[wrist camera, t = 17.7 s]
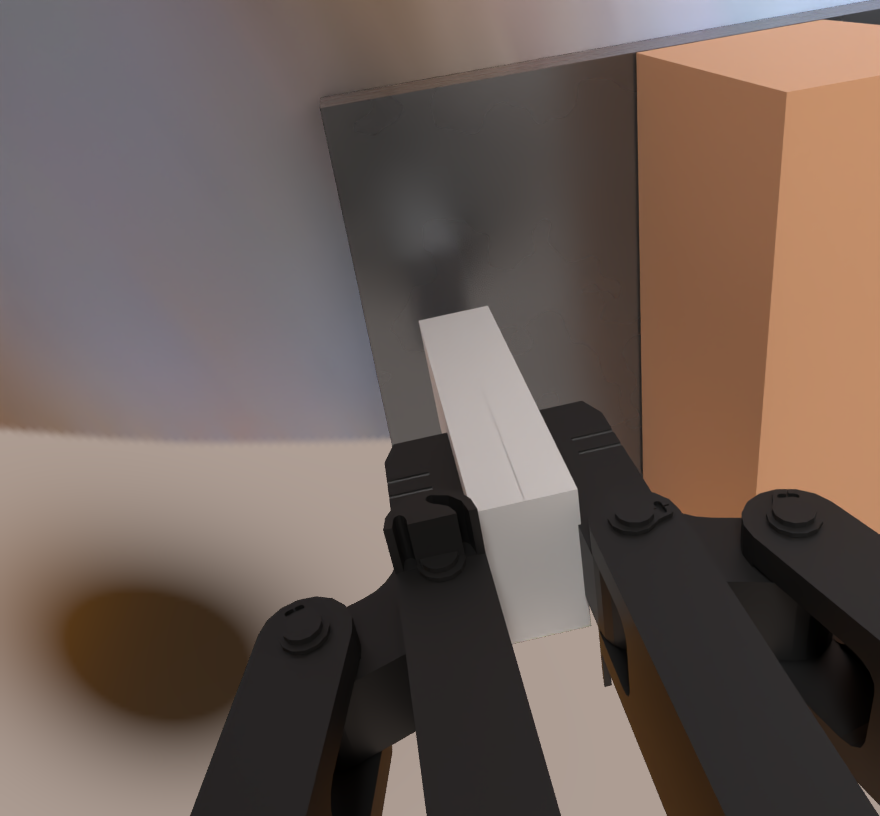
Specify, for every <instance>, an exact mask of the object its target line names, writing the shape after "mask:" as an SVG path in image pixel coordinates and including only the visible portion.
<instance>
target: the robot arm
mask: <svg viewBox="0 0 880 816" xmlns="http://www.w3.org/2000/svg"><path fill="white" fill-rule="evenodd" d="M419 326H420V331H421V335H422V340H423V345H424V350H425V355H426V360H427V365H428V369H429V374H430V379H431V384H432V389H433V394H434V399H435V403H436V408H437V413H438V418H439V423H440V428H441V432H442V434H438V435H433V436H429V437H424V438H420V439H415V440H411V441H406V442H402V443H397V444H394V445H393V447H392V449H391V451H390V453H389V455H388V457H387V459H386V461H385V469H386V477H387V483H388V492H389V497H390V507H391V511H390V512H389V514H388V515H387V516H386V518H385V523H384V529H383V531H384V535H385V538H386V542H387V545H388V549H389V552H390V556H391V560H392V563H393V567H394V570H393V572H392V574H391V575H390V577H389V578H388V579H387V581H386V582H385V583H384V584H383V585H382V586H381V587H380V588H379V589H378V590H377V591H375V592H374V593H372V594H370V595H369V596H367V597H365V598H364V599H362V600H360V601H358V602H356V603H354V604H352V605H350V606H348V607H346V606H345V605H344V604H342V603H340V602H338V601H336V600H334V599H333V598H325V597H311V598H306V599H301V600H297V601H295V602H293V603H291V604H289V605H287V606H285V607H283V608H281V609H280V610H279V611H278V612H276V613H275V614H274V615H273V616H272V617H271V618H269V619H268V620H267V622H266V623H265V625H264V626H263V628H262V630H261V631H260V633H259V635H258V637H257V640H256V643H255V645H254V648H253V650H252V653H251V656H250V658H249V661H248V664H247V666H246V669H245V672H244V674H243V677H242V680H241V682H240V685H239V687H238V690H237V693H236V695H235V698H234V701H233V703H232V706H231V709H230V711H229V714H228V717H227V719H226V722H225V725H224V728H223V730H222V733H221V735H220V738H219V741H218V743H217V746H216V749H215V751H214V754H213V757H212V759H211V762H210V765H209V767H208V770H207V773H206V775H205V778H204V780H203V783H202V786H201V788H200V791H199V794H198V796H197V799H196V802H195V804H194V807H193V810H192V812H191V815H190V816H382V811H383V805H384V799H385V793H386V787H387V781H388V775H389V769H390V763H391V756H392V745H393V744H394V743H396V742H398V741H400V740H401V739H403V738H405V737H406V736H408V735H410V734H412V733H414V732H415V731H416V736H417V744H418V752H419V759H420V767H421V775H422V783H423V790H424V798H425V806H426V813H427V816H561V814H560V811H559V808H558V804H557V800H556V797H555V793H554V790H553V786H552V783H551V779H550V776H549V772H548V769H547V765H546V762H545V759H544V755H543V751H542V748H541V744H540V741H539V737H538V734H537V731H536V727H535V723H534V720H533V717H532V713H531V710H530V706H529V702H528V699H527V696H526V692H525V689H524V686H523V682H522V678H521V675H520V671H519V668H518V664H517V661H516V657H515V654H514V650H513V647H512V644H515V643H520V642H524V641H528V640H533V639H537V638H541V637H546V636H550V635H554V634H558V633H563V632H567V631H571V630H576V629H580V628H584V627H589V626H591V619H590V609H589V606H590V608H591V610H592V613H593V615H594V617H595V620H596V622H597V625H598V628H599V639H600V648H601V660H602V670H603V679H604V686H605V687H606V686H610V685H612V684H611V678H612V680H613V683H614V685H615V688H616V690H617V693H618V695H619V698H620V700H621V703H622V705H623V708H624V710H625V713H626V715H627V717H628V720H629V722H630V725H631V727H632V730H633V732H634V735H635V737H636V740H637V742H638V745H639V747H640V750H641V752H642V755H643V757H644V760H645V762H646V764H647V767H648V769H649V772H650V774H651V777H652V779H653V782H654V784H655V787H656V789H657V792H658V794H659V797H660V799H661V802H662V804H663V807H664V809H665V811H666V814H667V816H879V815H878V813H877V812H876V810H875V809H874V807H873V806H872V804H871V803H870V801H869V799H868V798H867V796H866V795H865V793H864V792H863V790H862V789H861V787H860V786H859V784H860V785H861V786H862V787H863V788H864V789H865V791H866V792H867V793H868V794H869V795H870V796H871V797H872V798H873V799H874V800H875V801H876V802H877V803H878V804H879V805H880V534H878V533H877V532H876V531H874V530H873V529H871V528H870V527H868V526H867V525H865V524H864V523H862V522H861V521H860V520H858V519H857V518H855V517H854V516H852V515H851V514H849V513H848V512H846V511H845V510H843V509H842V508H841V507H839V506H838V505H836V504H835V503H833V502H832V501H830V500H828V499H826V498H824V497H822V496H820V495H817V494H815V493H811V492H807V491H802V490H798V489H775V490H771V491H767V492H763V493H759V494H758V495H756V496H755V497H753V498H752V499H750V500H749V501H747V503H746V505H745V507H744V509H743V511H742V515H741V518H710V517H697V516H692V515H688V514H683V513H682V512H681V511H680V509H679V508H678V507H677V506H676V505H675V504H674V503H673V502H672V501H671V500H670V499H668V498H666V497H663V496H661V495H659V494H656V493H654V492H651V490H650V489H649V487H648V485H647V484H646V482H645V481H644V479H643V477H642V476H641V474H640V473H639V471H638V469H637V468H636V466H635V465H634V463H633V461H632V460H631V458H630V457H629V455H628V453H627V452H626V450H625V449H624V447H623V445H622V446H621V443H620V441H619V439H618V437H617V436H616V434H615V433H614V432H613V431H612V428H611V426H610V425H609V423H608V421H607V420H606V418H605V417H604V415H603V413H602V412H600V411H599V410H597V409H595V408H594V407H592V406H590V405H589V404H587V403H585V402H584V401H578V402H573V403H569V404H564V405H560V406H555V407H551V408H546V409H542V410H539V409H538V407H537V405H536V403H535V401H534V399H533V397H532V395H531V393H530V391H529V389H528V387H527V385H526V383H525V381H524V379H523V376H522V374H521V372H520V370H519V368H518V366H517V364H516V362H515V360H514V358H513V356H512V354H511V352H510V350H509V348H508V346H507V344H506V342H505V340H504V338H503V336H502V334H501V331H500V329H499V327H498V325H497V323H496V321H495V319H494V317H493V315H492V313H491V311H490V309H489V307H488V306H484V307H479V308H474V309H470V310H465V311H461V312H456V313H452V314H447V315H442V316H438V317H433V318H429V319H424V320H419ZM857 782H858V783H859V784H858V783H857Z"/></svg>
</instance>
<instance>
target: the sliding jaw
mask: <svg viewBox="0 0 880 816" xmlns="http://www.w3.org/2000/svg"><path fill="white" fill-rule="evenodd" d="M636 60H637V123H638V187H639V250H640V313H641V376H642V439H643V479H644V481H645V482H646V484H647V485H648V487H649V489H650V490H651V492H654V493H656V494H659V495H661V496H663V497H666V498H668V499H670V500H671V501H672V502H673V503H674V504H675V505H676V506H677V507H678V508H679V509H680V511H681V512H682V513H683V514H688V515H692V516H697V517H710V518H741V515H742V511H743V509H744V507H745V505H746V503H747V501H749V500H750V499H752V498H753V497H755V496H756V495H758V494H759V493H763V492H767V491H771V490H775V489H798V490H802V491H807V492H811V493H815V494H817V495H820V496H822V497H824V498H826V499H828V500H830V501H832V502H833V503H835V504H836V505H838V506H839V507H841V508H842V509H843V510H845V511H846V512H848V513H849V514H851V515H852V516H854V517H855V518H857V519H858V520H860V521H861V522H862V523H864V524H865V525H867V526H868V527H870V528H871V529H873V530H874V531H876V532H877V533H878V534H880V25H874V24H864V23H854V22H843V21H833V20H818V21H812V22H806V23H801V24H795V25H789V26H784V27H778V28H773V29H767V30H761V31H756V32H750V33H744V34H739V35H733V36H728V37H722V38H716V39H711V40H705V41H699V42H694V43H688V44H683V45H677V46H671V47H666V48H660V49H654V50H649V51H643V52H638V53H636Z"/></svg>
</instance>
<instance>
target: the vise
mask: <svg viewBox="0 0 880 816" xmlns="http://www.w3.org/2000/svg"><path fill="white" fill-rule="evenodd" d="M818 20H833V21H843V22H854V23H864V24H874V25H880V0H869V1H864V2H858V3H852V4H847V5H841V6H835V7H830V8H824V9H818V10H813V11H807V12H802V13H796V14H790V15H785V16H779V17H773V18H768V19H762V20H756V21H751V22H745V23H739V24H734V25H728V26H723V27H717V28H711V29H706V30H700V31H694V32H689V33H683V34H677V35H672V36H666V37H660V38H655V39H649V40H644V41H638V42H632V43H627V44H621V45H615V46H610V47H604V48H598V49H593V50H587V51H581V52H576V53H570V54H565V55H559V56H553V57H548V58H542V59H536V60H531V61H525V62H519V63H514V64H508V65H502V66H497V67H491V68H486V69H480V70H474V71H469V72H463V73H457V74H452V75H446V76H440V77H435V78H429V79H423V80H418V81H412V82H407V83H401V84H395V85H390V86H384V87H378V88H373V89H367V90H361V91H356V92H350V93H344V94H339V95H333V96H328V97H322V98H320V111H321V115H322V120H323V125H324V129H325V134H326V139H327V143H328V148H329V153H330V157H331V162H332V167H333V171H334V176H335V181H336V185H337V190H338V195H339V200H340V204H341V209H342V214H343V218H344V223H345V228H346V232H347V237H348V242H349V246H350V251H351V256H352V260H353V265H354V270H355V274H356V279H357V284H358V288H359V293H360V298H361V302H362V307H363V312H364V316H365V321H366V326H367V331H368V335H369V340H370V345H371V349H372V354H373V359H374V363H375V368H376V373H377V377H378V382H379V387H380V391H381V396H382V401H383V405H384V410H385V415H386V419H387V424H388V429H389V433H390V438H391V443H392V447H393V445H394V444H397V443H402V442H406V441H411V440H415V439H420V438H424V437H429V436H433V435H438V434H442V432H441V428H440V423H439V418H438V413H437V408H436V403H435V399H434V394H433V389H432V384H431V379H430V374H429V369H428V365H427V360H426V355H425V350H424V345H423V340H422V335H421V331H420V326H419V320H424V319H429V318H433V317H438V316H442V315H447V314H452V313H456V312H461V311H465V310H470V309H474V308H479V307H484V306H488V307H489V309H490V311H491V313H492V315H493V317H494V319H495V321H496V323H497V325H498V327H499V329H500V331H501V334H502V336H503V338H504V340H505V342H506V344H507V346H508V348H509V350H510V352H511V354H512V356H513V358H514V360H515V362H516V364H517V366H518V368H519V370H520V372H521V374H522V376H523V379H524V381H525V383H526V385H527V387H528V389H529V391H530V393H531V395H532V397H533V399H534V401H535V403H536V405H537V407H538V409H539V410H542V409H546V408H551V407H555V406H560V405H564V404H569V403H573V402H578V401H584V402H585V403H587V404H589V405H590V406H592V407H594V408H595V409H597V410H599V411H600V412H602V413H603V415H604V417H605V418H606V420H607V421H608V423H609V425H610V426H611V428H612V431H613V432H614V433H615V434H616V436H617V437H618V439H619V441H620V443H621V446H622V445H623V447H624V449H625V450H626V452H627V453H628V455H629V457H630V458H631V460H632V461H633V463H634V465H635V466H636V468H637V469H638V471H639V473H640V474H641V476H642V477H643V439H642V376H641V313H640V250H639V187H638V123H637V60H636V53H638V52H643V51H649V50H654V49H660V48H666V47H671V46H677V45H683V44H688V43H694V42H699V41H705V40H711V39H716V38H722V37H728V36H733V35H739V34H744V33H750V32H756V31H761V30H767V29H773V28H778V27H784V26H789V25H795V24H801V23H806V22H812V21H818Z"/></svg>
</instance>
